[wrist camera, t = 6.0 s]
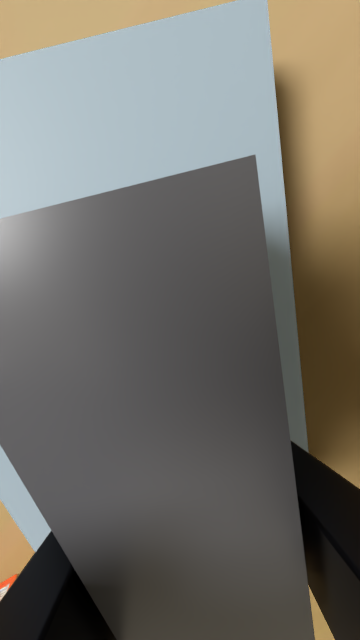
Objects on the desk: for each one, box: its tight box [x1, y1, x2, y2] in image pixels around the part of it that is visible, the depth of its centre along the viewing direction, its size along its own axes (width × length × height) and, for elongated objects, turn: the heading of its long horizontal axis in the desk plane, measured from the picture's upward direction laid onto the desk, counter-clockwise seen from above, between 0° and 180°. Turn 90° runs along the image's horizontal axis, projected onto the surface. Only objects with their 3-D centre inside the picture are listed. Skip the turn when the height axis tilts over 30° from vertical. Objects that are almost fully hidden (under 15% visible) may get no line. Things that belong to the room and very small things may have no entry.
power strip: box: [0, 155, 315, 640], centre depth 7 cm, size 12×4×6 cm, turn 14°
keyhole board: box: [0, 0, 309, 552], centre depth 10 cm, size 20×12×2 cm, turn 14°
